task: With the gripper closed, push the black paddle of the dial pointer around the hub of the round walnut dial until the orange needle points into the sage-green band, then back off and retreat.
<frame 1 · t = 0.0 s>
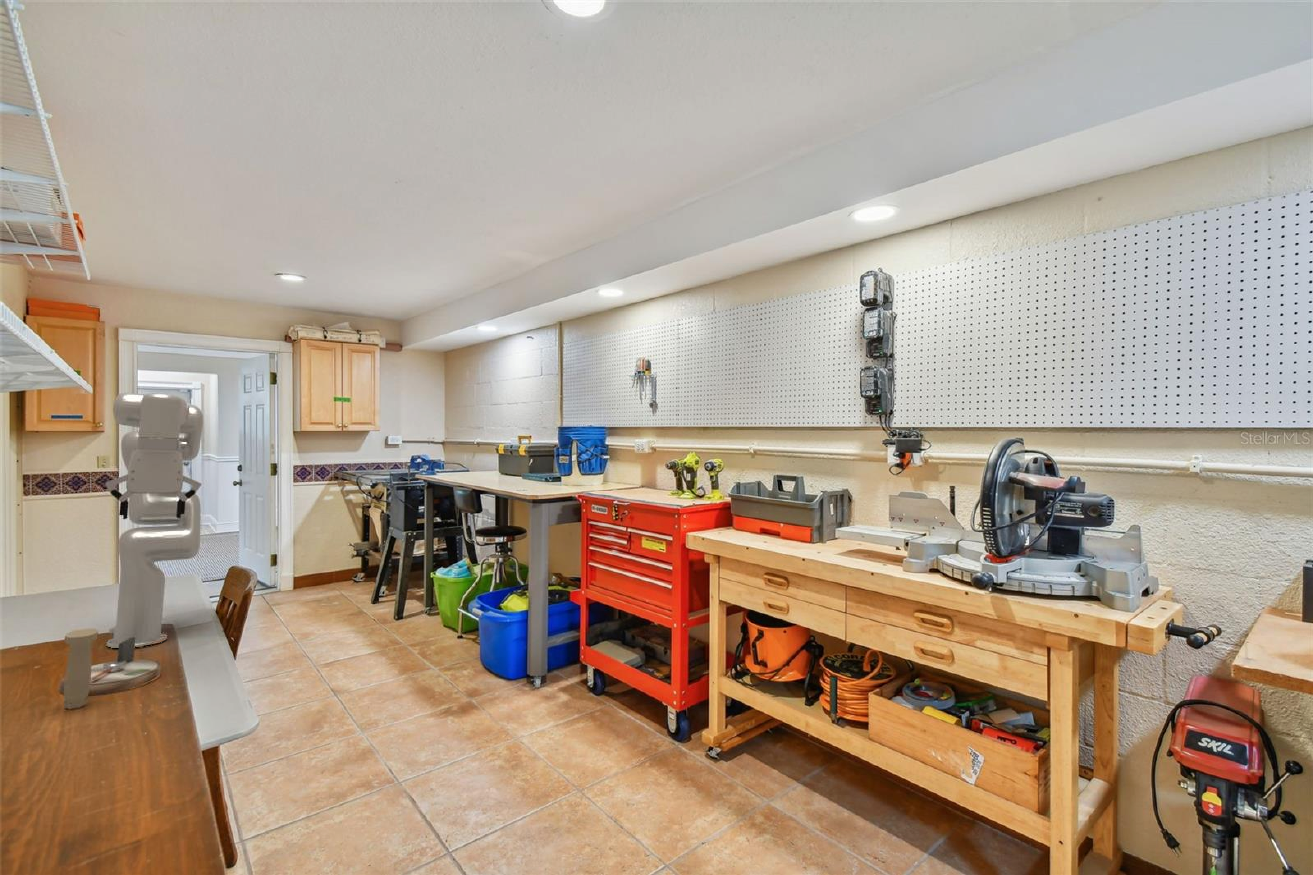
hand: (152, 518, 139), 37 cm above the table, tool pointing down, fingers open, 9 cm apart
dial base: (112, 681, 135), on the table
handle: (75, 707, 121), on the table
dial pointer: (114, 658, 135), point 5 cm above the table, hinge at 0.0°
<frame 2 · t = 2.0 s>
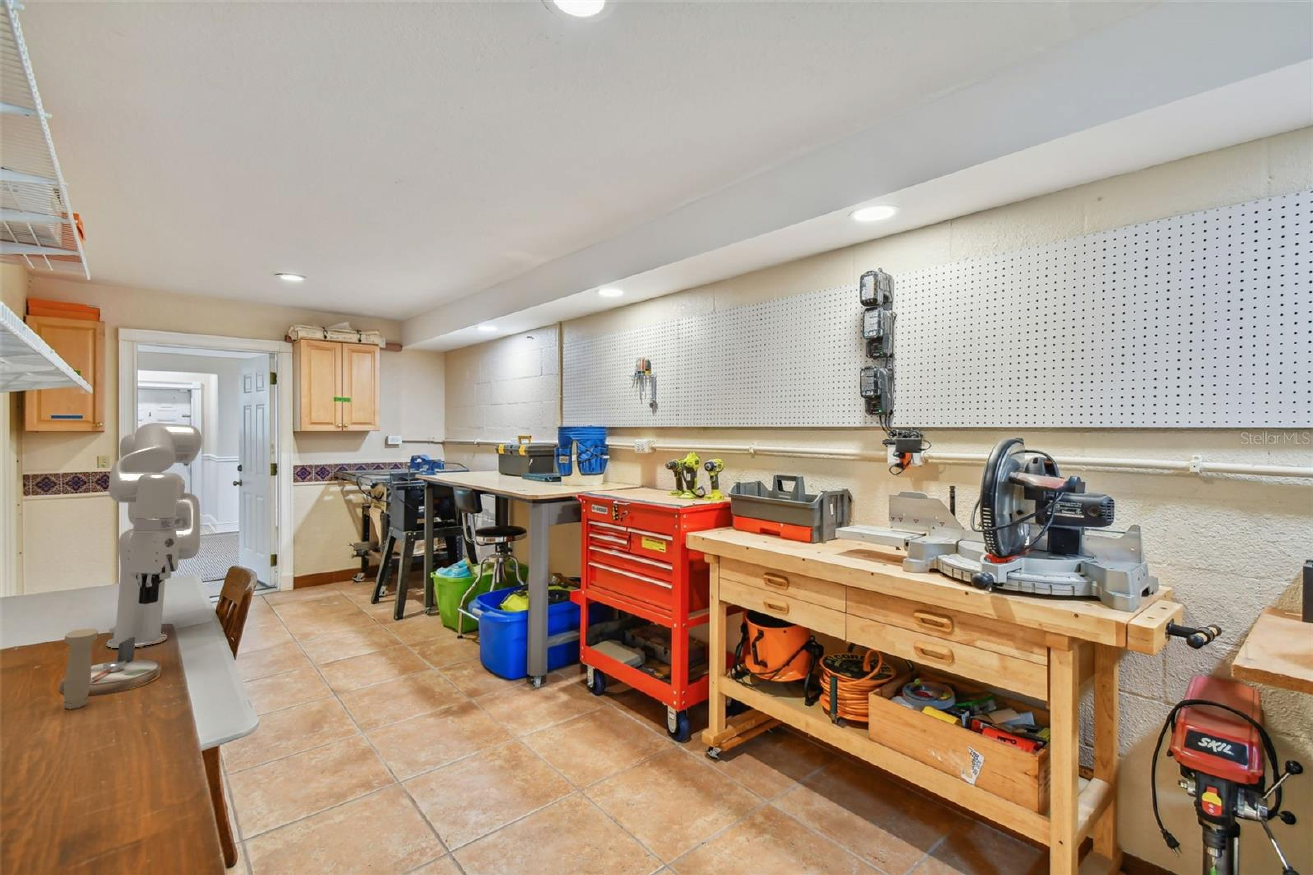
hand: (148, 602, 140), 17 cm above the table, tool pointing down, fingers closed
nothing on the table moved.
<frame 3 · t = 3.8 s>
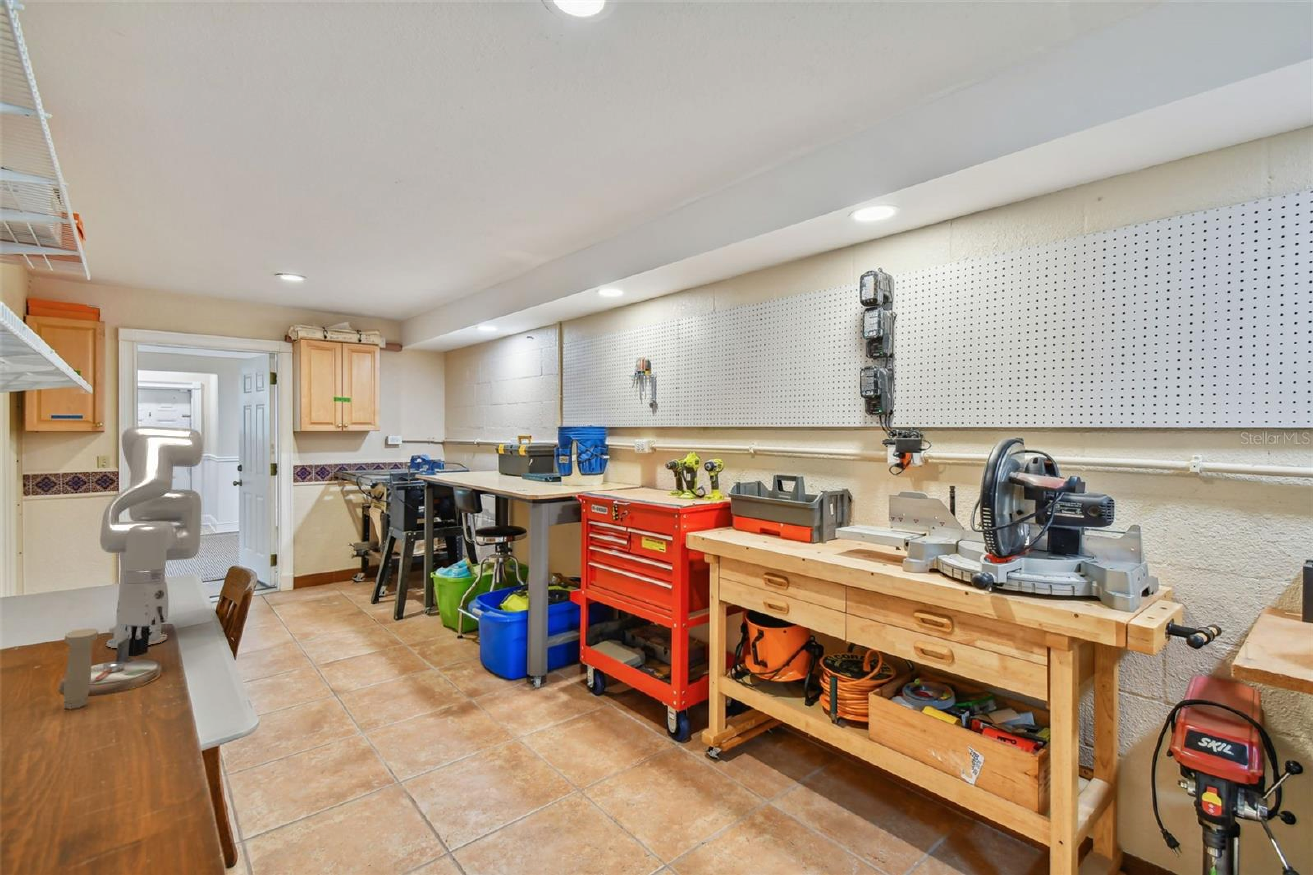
hand: (137, 654, 140), 5 cm above the table, tool pointing down, fingers closed
dial pointer: (114, 658, 135), point 5 cm above the table, hinge at 5.4°, touching gripper
everything else where it was.
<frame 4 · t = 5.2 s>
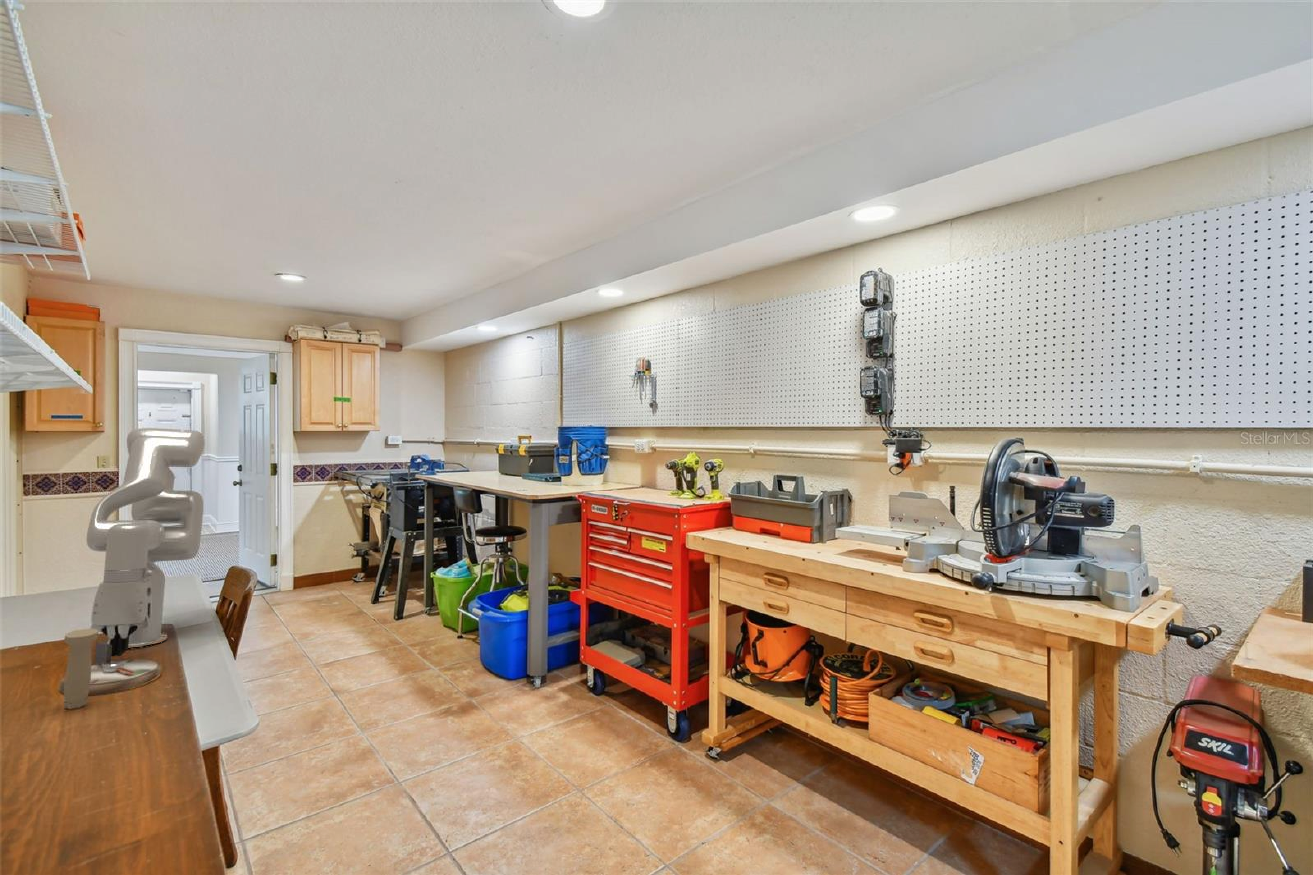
hand: (118, 654, 139), 5 cm above the table, tool pointing down, fingers closed
dial pointer: (114, 658, 135), point 5 cm above the table, hinge at 50.8°, touching gripper
everything else where it was.
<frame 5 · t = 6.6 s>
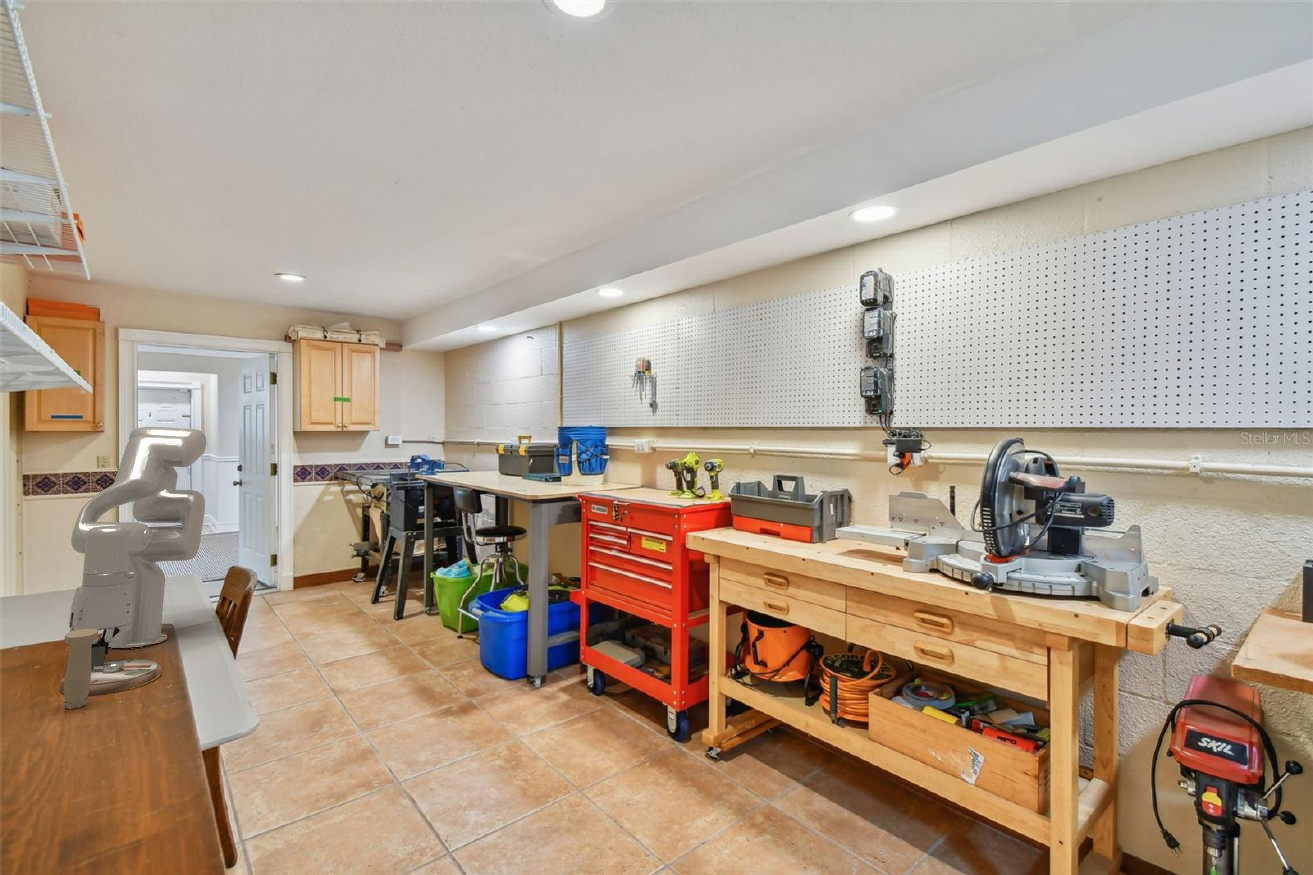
hand: (97, 659, 137), 4 cm above the table, tool pointing down, fingers closed
dial pointer: (114, 658, 135), point 5 cm above the table, hinge at 86.7°, touching gripper
everything else where it was.
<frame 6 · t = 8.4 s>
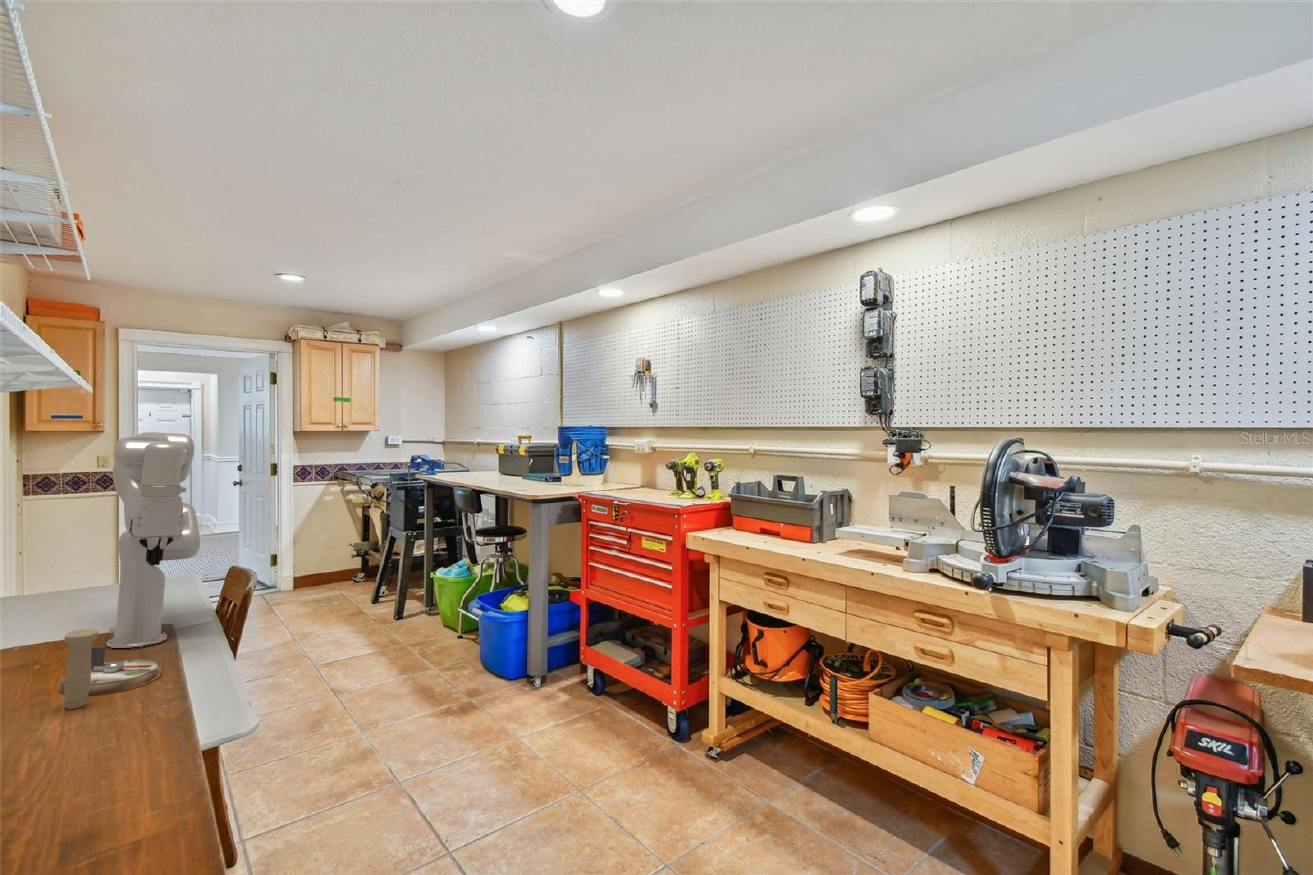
hand: (153, 564, 149), 24 cm above the table, tool pointing down, fingers closed
dial pointer: (114, 658, 135), point 5 cm above the table, hinge at 86.7°
everything else where it was.
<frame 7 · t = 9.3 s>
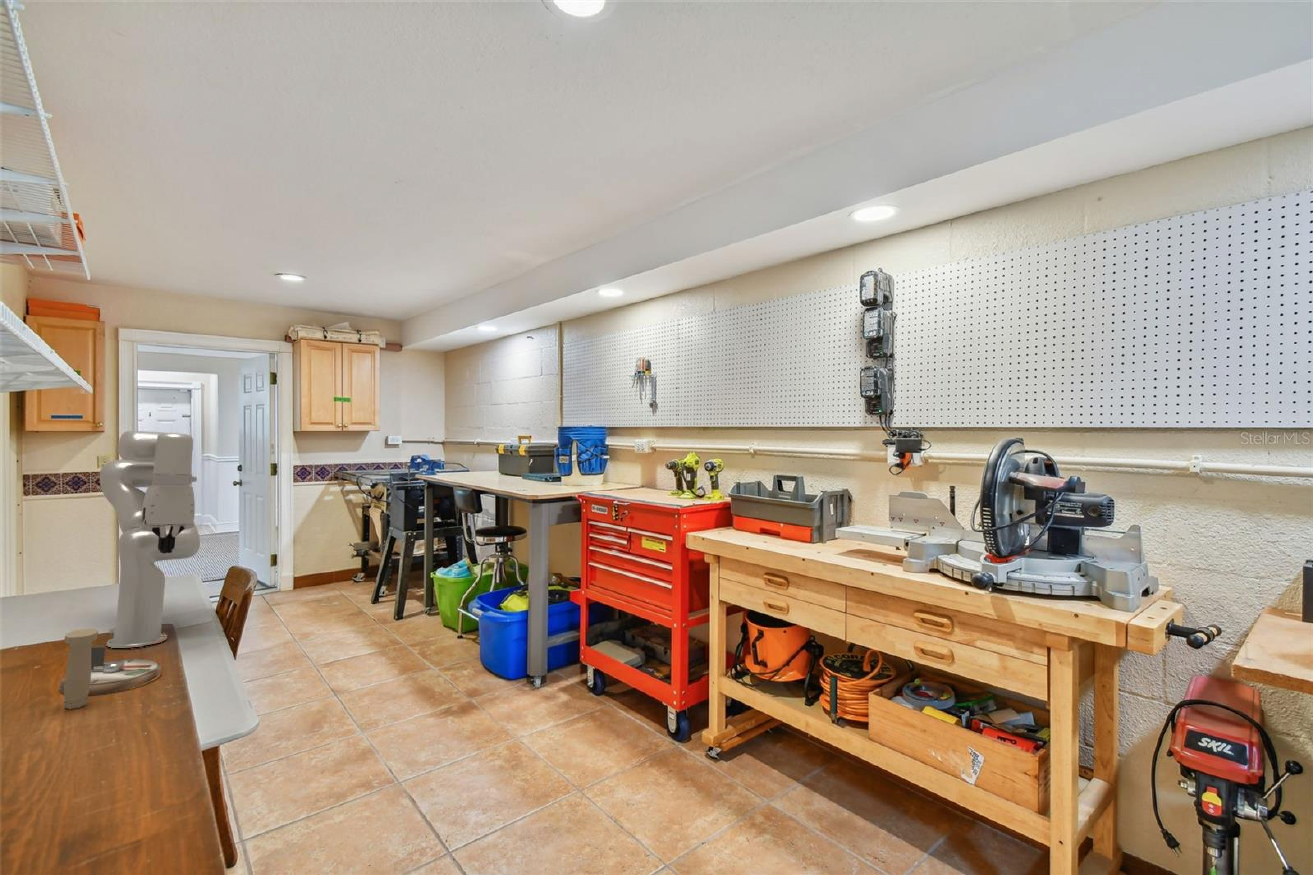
hand: (165, 552, 151), 27 cm above the table, tool pointing down, fingers closed
nothing on the table moved.
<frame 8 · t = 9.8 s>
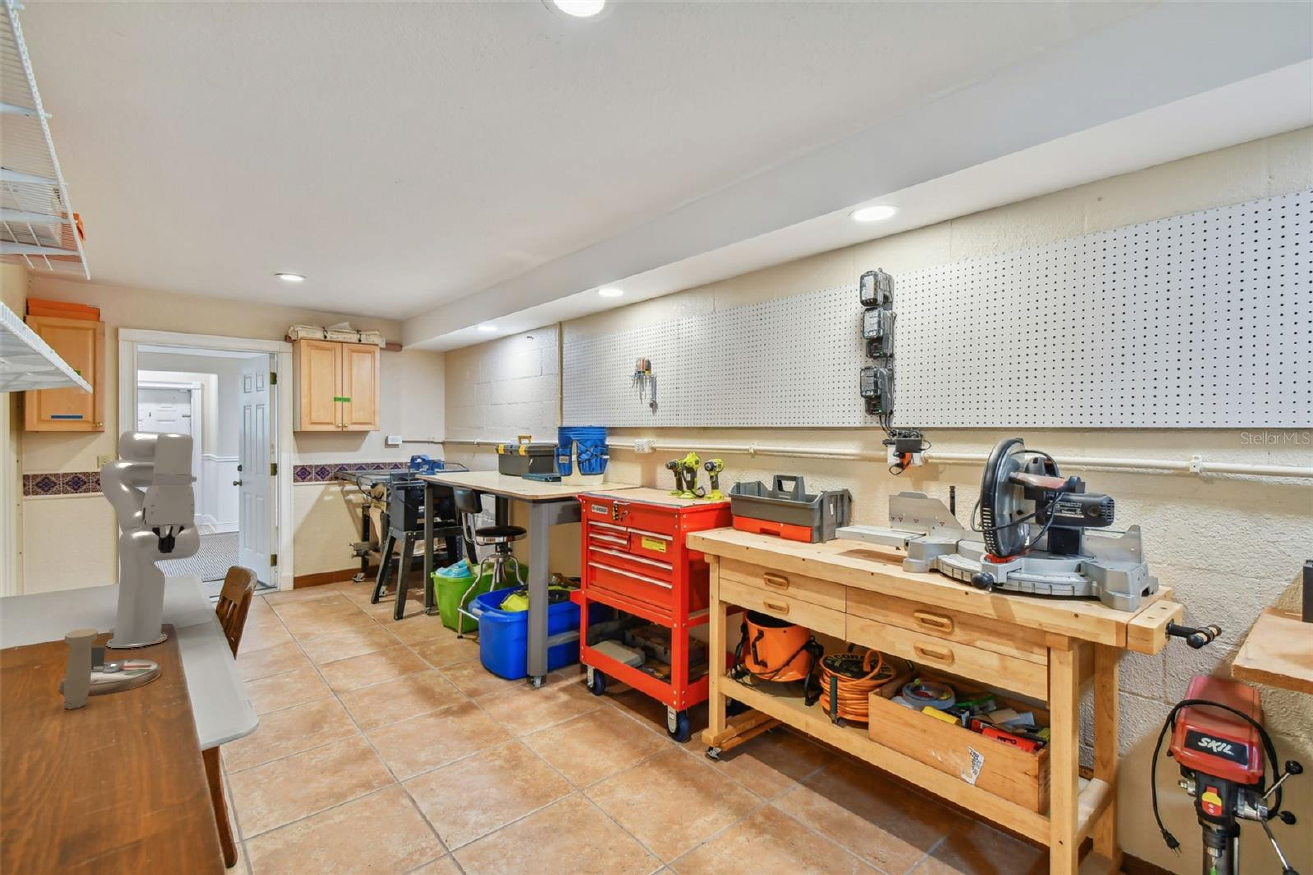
hand: (165, 552, 151), 27 cm above the table, tool pointing down, fingers closed
nothing on the table moved.
at the end: dial pointer at +87° (first picture: +0°); the gripper is holding nothing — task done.
